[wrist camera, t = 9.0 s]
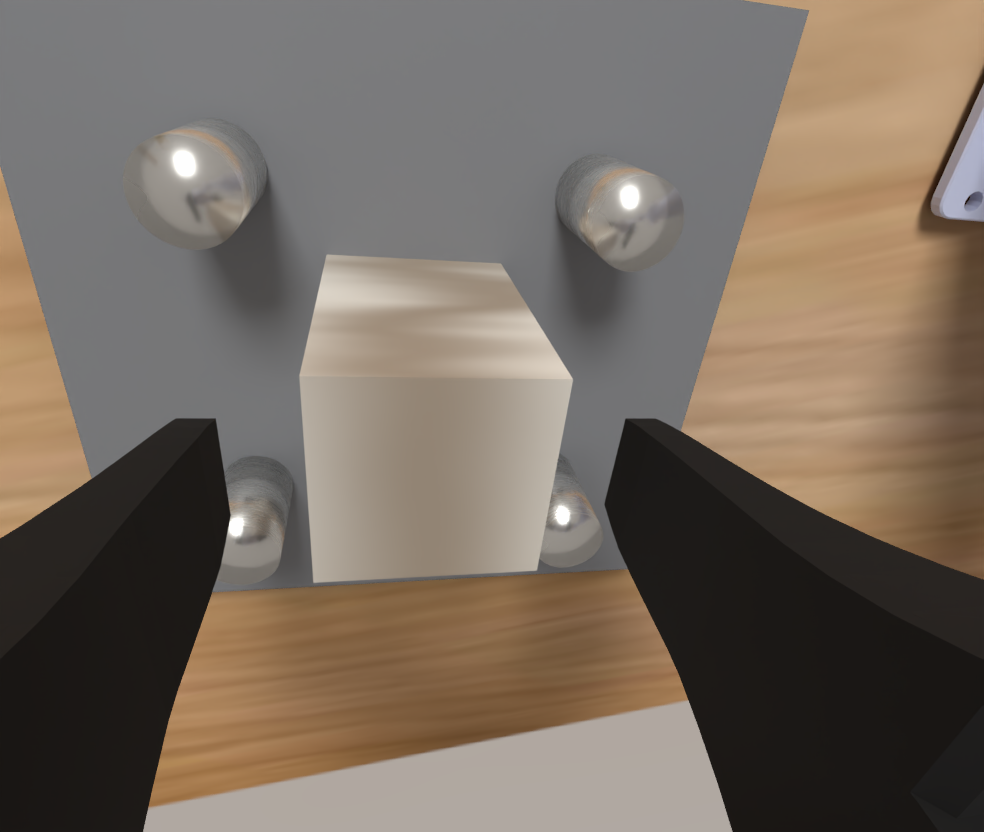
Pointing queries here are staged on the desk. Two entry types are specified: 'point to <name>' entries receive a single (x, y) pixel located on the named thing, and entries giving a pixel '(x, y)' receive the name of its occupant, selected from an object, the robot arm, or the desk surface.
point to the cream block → (427, 421)
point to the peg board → (378, 209)
